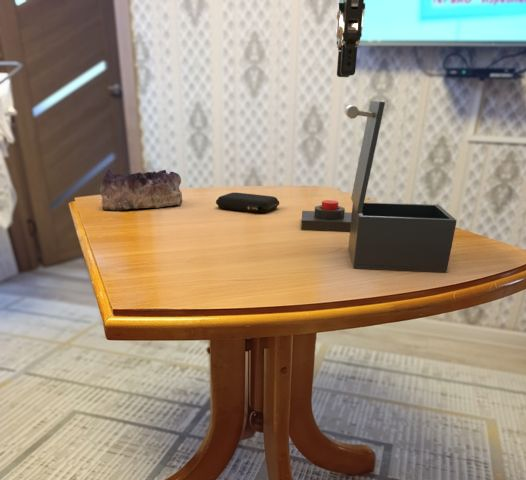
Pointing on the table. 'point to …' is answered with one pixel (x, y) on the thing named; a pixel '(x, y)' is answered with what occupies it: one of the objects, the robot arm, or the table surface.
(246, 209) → the carrying case
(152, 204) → the geode
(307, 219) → the button block
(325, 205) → the red button
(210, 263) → the table surface
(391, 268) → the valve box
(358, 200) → the hinged box lid
